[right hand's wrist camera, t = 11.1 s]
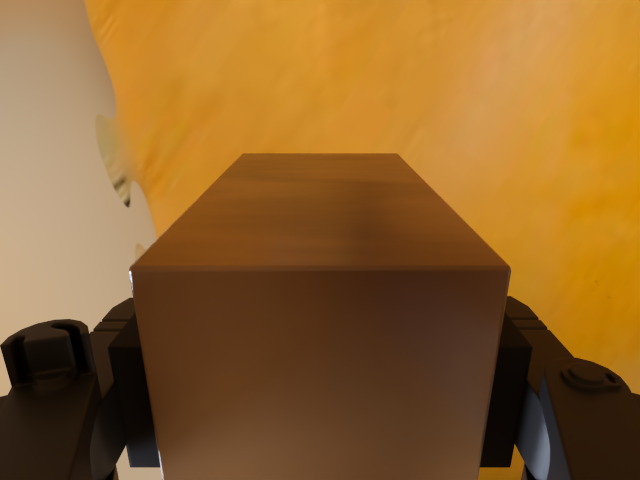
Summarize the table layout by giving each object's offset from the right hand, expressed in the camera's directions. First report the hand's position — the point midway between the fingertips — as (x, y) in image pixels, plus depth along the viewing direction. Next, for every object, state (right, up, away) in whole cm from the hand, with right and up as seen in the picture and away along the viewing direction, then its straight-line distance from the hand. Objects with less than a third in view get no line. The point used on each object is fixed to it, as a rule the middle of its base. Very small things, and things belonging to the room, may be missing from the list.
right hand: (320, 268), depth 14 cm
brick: (0, +1, +4) cm, 4 cm away
